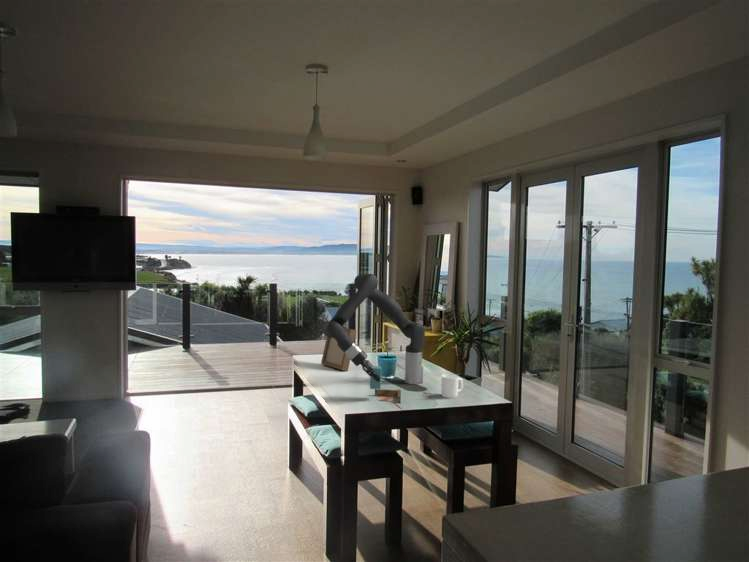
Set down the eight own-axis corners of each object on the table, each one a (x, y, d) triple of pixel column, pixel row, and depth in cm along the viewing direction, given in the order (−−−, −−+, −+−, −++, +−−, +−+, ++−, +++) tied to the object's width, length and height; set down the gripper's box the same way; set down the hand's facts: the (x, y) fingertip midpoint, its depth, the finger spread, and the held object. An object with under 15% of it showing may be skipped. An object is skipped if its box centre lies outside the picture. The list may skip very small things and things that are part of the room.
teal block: (370, 386, 273) (371, 366, 272) (380, 386, 272) (381, 366, 272) (370, 388, 268) (370, 368, 267) (380, 389, 267) (380, 368, 267)
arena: (373, 402, 264) (373, 395, 264) (374, 394, 277) (375, 389, 277) (400, 403, 264) (400, 397, 263) (400, 395, 277) (400, 390, 276)
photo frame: (342, 371, 326) (343, 329, 325) (320, 365, 343) (322, 325, 341) (361, 369, 336) (362, 328, 334) (340, 362, 352) (341, 323, 351)
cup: (438, 394, 281) (438, 375, 280) (458, 392, 285) (459, 373, 285) (446, 399, 273) (447, 378, 273) (467, 396, 278) (468, 377, 277)
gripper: (360, 351, 262) (384, 377, 262) (362, 346, 276) (385, 371, 276) (348, 362, 263) (373, 388, 263) (351, 356, 277) (374, 381, 277)
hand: (379, 379), depth 270 cm, fingers closed on teal block, 5 cm apart
